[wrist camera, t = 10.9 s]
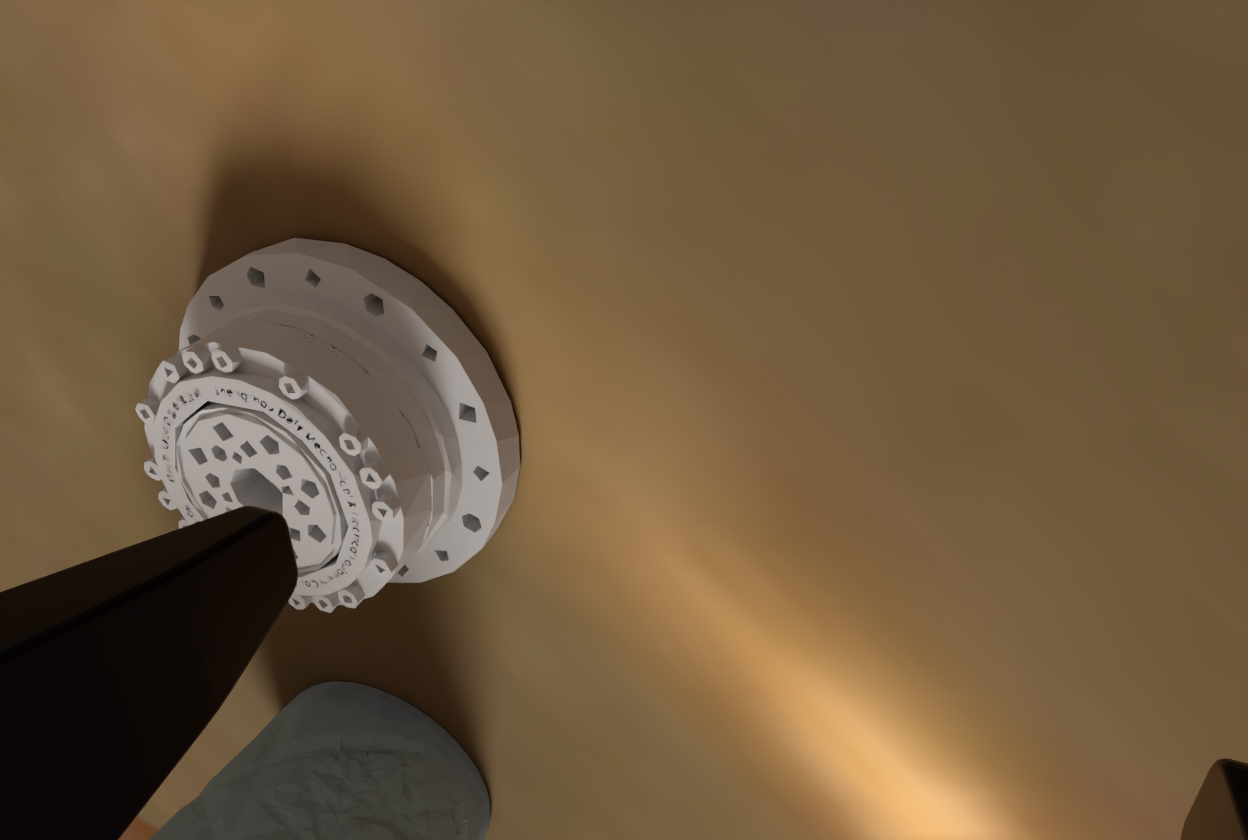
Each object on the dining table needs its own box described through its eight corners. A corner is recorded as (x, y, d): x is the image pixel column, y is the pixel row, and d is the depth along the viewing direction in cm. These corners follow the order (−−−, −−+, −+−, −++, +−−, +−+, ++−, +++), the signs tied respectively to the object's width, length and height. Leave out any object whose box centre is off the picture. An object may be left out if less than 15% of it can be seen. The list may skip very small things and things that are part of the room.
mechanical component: (436, 194, 22) (155, 273, 26) (319, 258, 18) (18, 336, 23) (576, 545, 26) (310, 561, 30) (502, 655, 22) (213, 654, 27)
